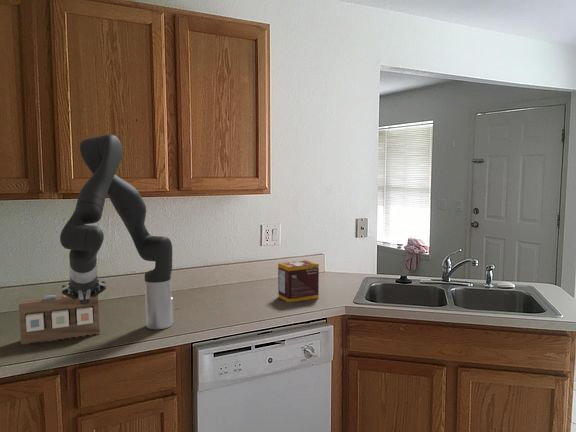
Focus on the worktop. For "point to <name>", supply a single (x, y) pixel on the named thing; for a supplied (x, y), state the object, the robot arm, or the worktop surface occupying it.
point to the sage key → (60, 318)
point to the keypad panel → (47, 306)
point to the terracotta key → (84, 315)
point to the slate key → (35, 321)
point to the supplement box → (298, 281)
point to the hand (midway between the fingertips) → (84, 302)
